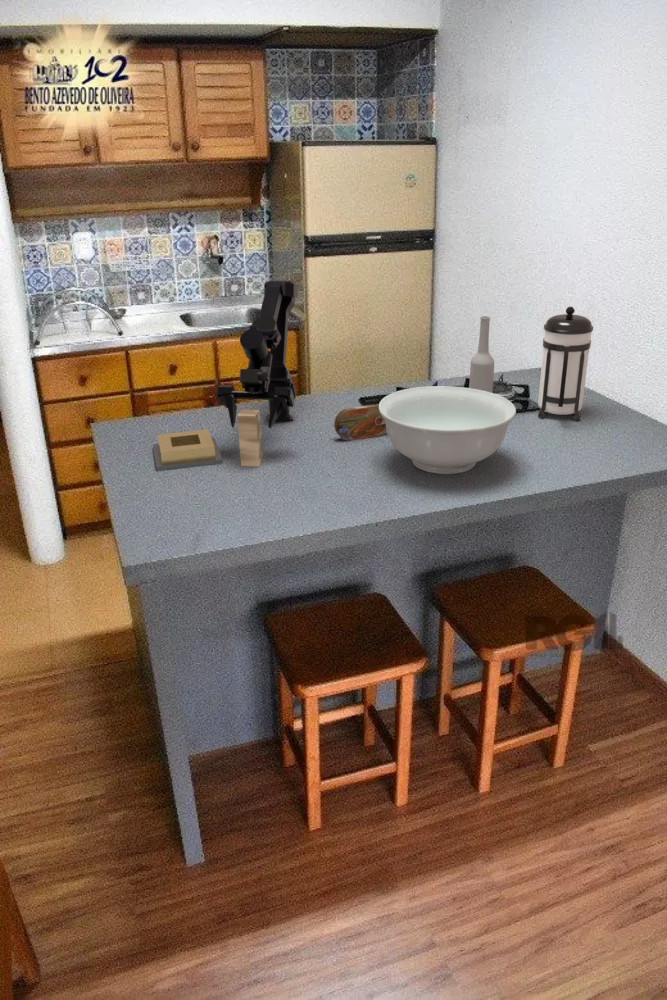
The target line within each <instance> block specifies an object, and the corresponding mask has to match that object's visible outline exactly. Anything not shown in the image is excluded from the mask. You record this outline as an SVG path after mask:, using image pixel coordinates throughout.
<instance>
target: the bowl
mask: <svg viewBox="0 0 667 1000" xmlns="http://www.w3.org/2000/svg"><path fill="white" fill-rule="evenodd" d="M378 406H379V412H380V414H381V415H382V416H383V417H384V419H385V424H386V429H387V430H386V432H387V437H388V439H389V441H390V443H391V445H393V446H394V448H396V450H397V451H398V452H399V453H401V454H402V455H404V456H406V457H407V458H408V459H411V462H412V464H413V465H414V466H415V468H417V469H419V470H422V471H424V472H427V473H433V474H439V475H453V474H454V475H455V474H462V473H465V472H468V471H470V470H472V469H473V468H475V465H476V464H477V462H480V461H483V460H484V459H486V458H489V457H490V456H491V455H493V454H494V453H495V452H496V451H497V450H498V449H499V447H501V445H502V443H503V441H504V439H505V437H506V434H507V430H508V427H509V425H510V423H511V422H512V421H513V420H514V418H515V416H516V414H517V409H516V406H515V405H514V403H512V401H510V400H509V399H508V398H506V397H503V396H502V395H499V394H496V393H490V392H486V391H482V390H477V389H471V388H469V387H463V386H450V385H449V386H445V385H438V386H437V385H435V386H433V385H432V386H431V385H430V386H429V385H428V386H419V387H418V386H417V387H411V388H404V389H401V390H397V391H394V392H391V393H389V394H387V395H386V396H384V397H383V398H381V400H380V401H379V403H378Z"/></svg>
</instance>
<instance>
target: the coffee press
mask: <svg viewBox="0 0 667 1000" xmlns="http://www.w3.org/2000/svg"><path fill="white" fill-rule="evenodd" d="M574 313H575V308H574V307H573V306H568V307H567V308H566V309H565V314H556V315H553V316H551V317H549V318H548V319H547V321H546V322H545V324H544V325H543V330H544V335H543V336H544V338H543V340H542V347H543V349H542V360H541V370H540V381H539V388H538V389H539V390H538V403H537V405H538V408H539V409H540V410H539V412H538V414H537V417H538V418H539V419H542V420H543V419H545V418H546V416H547V415H549V414H553V415H561V416H562V415H565V416H567V415H569V416H571V417H572V420H573V421H574V422H576V421H577V422H578V421H580V420H581V414H580V410H582V408H583V402H584V396H585V395H584V394H585V386H586V378H587V370H588V363H589V362H588V361H589V354H590V349H591V344H592V340H591V338H592V337H591V336H592V333H593V331H594V326H593V325H592V322H591V320H590V319H589V318H588V317H586V316H583V315H579V314H574Z"/></svg>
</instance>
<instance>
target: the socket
mask: <svg viewBox="0 0 667 1000" xmlns="http://www.w3.org/2000/svg"><path fill="white" fill-rule="evenodd" d="M157 440H158V441H157V442H158V443H154V444H152V448H153V455H154V456H155V457H154V462H155V467H156V468H155V469H156V471H157V470H160V471H166V469H169V470H174V469H176V468H177V469H184V468H185V467H186V468H193V467H203V466H210V465H218V464H220V465H221V464H223V458H222V454H221V451H220V449H219V446H218V444H217V441H216V438H215V437H212V435H211V433H210V430H209V429H197V430H190V431H189V430H188V431H181V432H179V431H178V432H170V433H163V434H160V433H159V434H157ZM186 468H185V469H186ZM164 469H165V470H164Z"/></svg>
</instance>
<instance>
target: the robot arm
mask: <svg viewBox="0 0 667 1000" xmlns="http://www.w3.org/2000/svg"><path fill="white" fill-rule="evenodd" d="M263 285H264V287H263V288H264V289H263V290H264V291H263V294H264V295H263V299H262V303H261V307H260V311H259V315H258V317H257V318H256V319H254V320H253V321H252V322H251V325H249V329H247V330H245V331H244V332H243V333H242V334H241V335H240V337H239V342H240V346H241V348H242V350H243V352H244V355H245V357H246V359H248V364H247V368H240V369H239V383H240V384H241V387H242V388H241V389H244V390H236V389H235V387H234V386H233V385H228V384H227V385H225V384H224V385H223V384H220V385H218V386H217V387H216V389H215V396H216V398H217V400H218V402H219V404H220V405H222V406H224V408H227V410H228V416H229V420H230V425H231V427H232V428H235V424H236V417H237V410H238V407H237V403H238V402H237V401H238V400H257V401H259V400H261V401H265V400H266V401H268V412H269V414H266V418H267V420H268V429H272V427H273V426H274V425H275V424H276V423H284V422H293V421H294V419H293V417H292V415H291V413H290V412H291V411H290V408H293V407H294V404H295V399H296V398H297V396H296V395H297V394H296V387H295V385H294V382H293V380H292V375H291V373H290V371H289V369H288V367H287V345H288V344H287V343H288V330H289V329H288V327H289V314H290V312H291V311H292V310H293V309H294V308H295V305H296V299H297V298H298V293H299V292H298V290H299V289H298V285H297V284H296V283H294V281H293V280H268V281H265V283H264V284H263ZM269 349H270V350H269Z"/></svg>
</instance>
